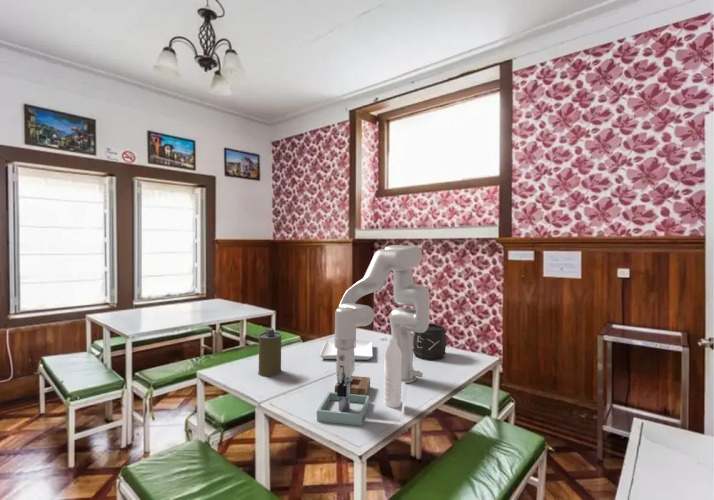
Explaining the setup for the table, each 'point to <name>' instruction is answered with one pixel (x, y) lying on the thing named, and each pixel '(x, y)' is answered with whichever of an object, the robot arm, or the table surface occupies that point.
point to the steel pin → (345, 401)
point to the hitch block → (358, 385)
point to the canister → (269, 353)
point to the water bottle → (392, 374)
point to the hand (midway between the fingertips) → (344, 391)
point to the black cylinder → (430, 343)
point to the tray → (342, 416)
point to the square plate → (360, 351)
